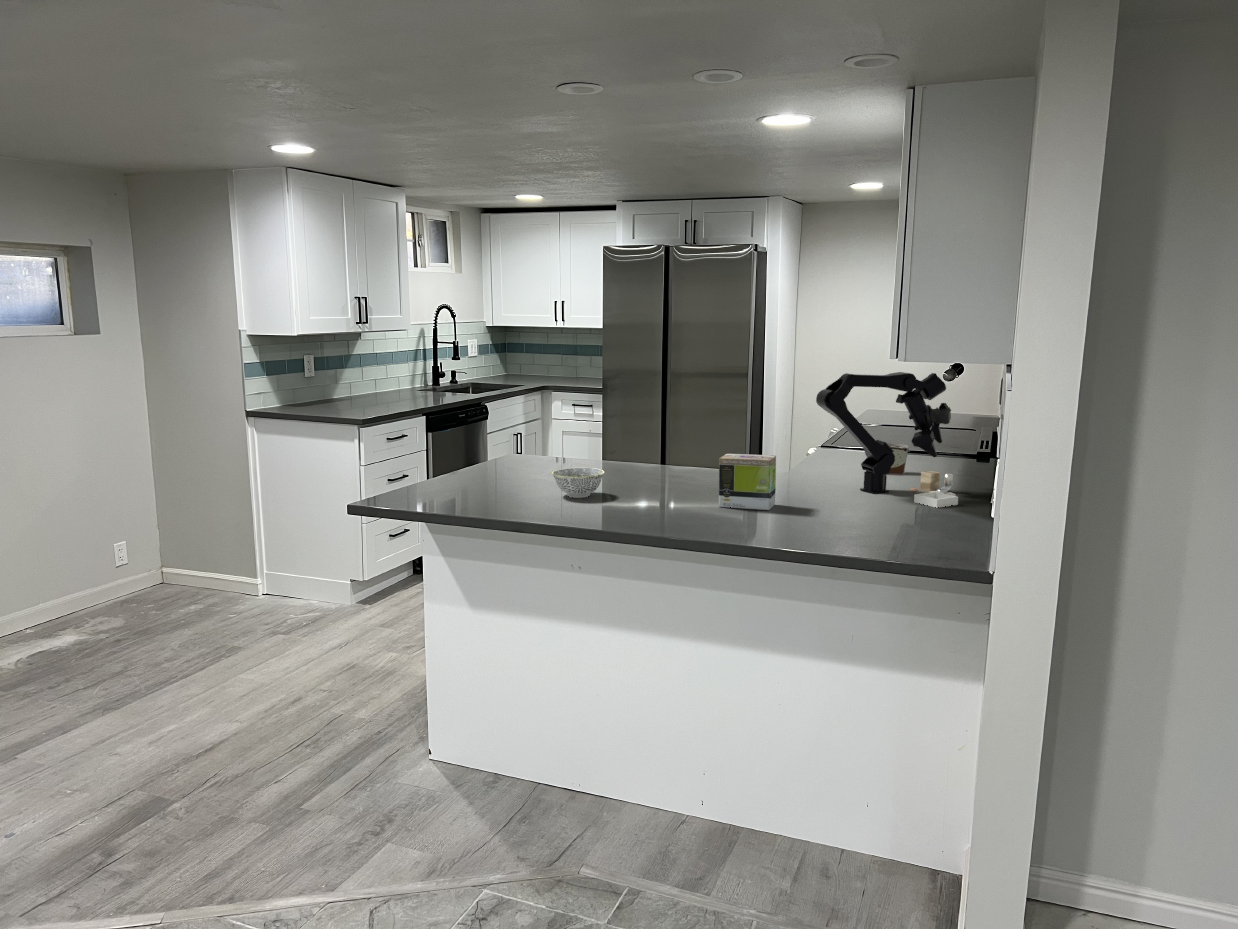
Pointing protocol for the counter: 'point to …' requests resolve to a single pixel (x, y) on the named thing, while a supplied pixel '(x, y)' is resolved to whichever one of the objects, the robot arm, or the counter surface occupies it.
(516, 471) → the counter surface
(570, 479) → the bowl
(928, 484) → the block
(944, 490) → the crank
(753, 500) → the tea box
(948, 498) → the tray
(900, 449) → the food container
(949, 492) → the crank base
